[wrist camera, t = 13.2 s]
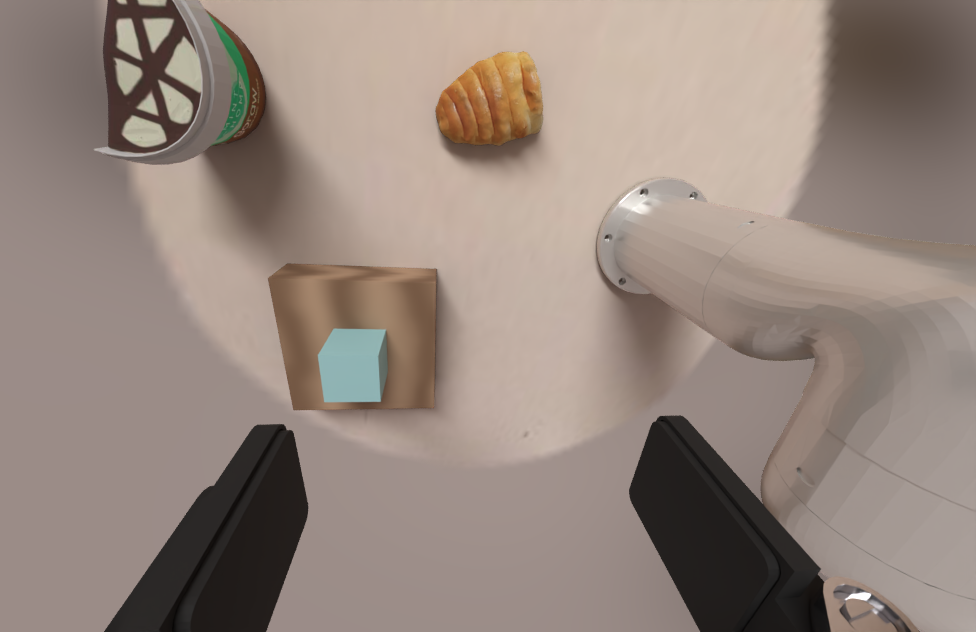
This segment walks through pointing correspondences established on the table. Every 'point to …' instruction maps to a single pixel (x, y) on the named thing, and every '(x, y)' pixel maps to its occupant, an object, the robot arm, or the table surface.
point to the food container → (175, 81)
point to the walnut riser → (357, 327)
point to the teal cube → (354, 365)
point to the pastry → (493, 101)
